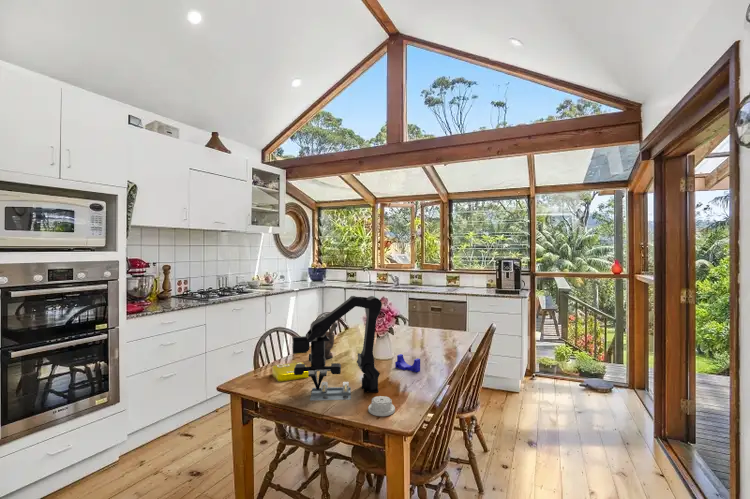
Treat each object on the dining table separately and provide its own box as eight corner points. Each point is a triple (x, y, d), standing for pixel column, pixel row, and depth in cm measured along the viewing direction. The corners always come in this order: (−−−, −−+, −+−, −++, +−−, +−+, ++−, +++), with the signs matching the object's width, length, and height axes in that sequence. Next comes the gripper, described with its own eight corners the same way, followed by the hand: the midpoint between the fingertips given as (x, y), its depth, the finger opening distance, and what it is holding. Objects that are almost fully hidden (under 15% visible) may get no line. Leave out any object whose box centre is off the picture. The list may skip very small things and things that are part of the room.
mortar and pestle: (341, 356, 209) (341, 320, 208) (336, 360, 200) (336, 323, 200) (321, 354, 212) (322, 318, 211) (315, 359, 203) (316, 322, 203)
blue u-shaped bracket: (395, 367, 190) (395, 356, 190) (400, 365, 194) (400, 354, 193) (414, 373, 182) (415, 361, 182) (420, 371, 186) (420, 358, 186)
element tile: (278, 385, 167) (278, 374, 167) (271, 374, 180) (271, 364, 180) (311, 380, 173) (311, 369, 173) (302, 370, 187) (302, 360, 187)
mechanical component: (400, 410, 142) (379, 403, 149) (400, 398, 142) (379, 392, 149) (383, 419, 135) (362, 411, 141) (383, 407, 135) (362, 400, 141)
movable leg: (327, 390, 158) (327, 381, 158) (326, 398, 150) (326, 389, 150) (321, 390, 158) (321, 382, 157) (320, 398, 149) (320, 389, 149)
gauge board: (350, 390, 161) (350, 379, 161) (350, 401, 149) (350, 390, 149) (312, 390, 160) (312, 380, 160) (309, 402, 148) (309, 391, 148)
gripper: (341, 346, 164) (341, 381, 164) (297, 346, 162) (297, 382, 163) (340, 353, 153) (340, 392, 153) (293, 354, 151) (293, 393, 152)
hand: (317, 389), depth 155 cm, fingers closed
